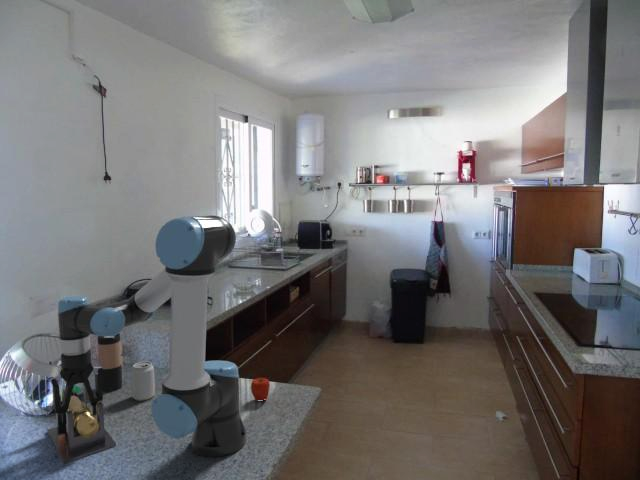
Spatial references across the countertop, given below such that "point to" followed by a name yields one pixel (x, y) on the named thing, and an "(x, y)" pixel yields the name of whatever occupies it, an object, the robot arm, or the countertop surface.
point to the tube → (83, 418)
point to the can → (142, 381)
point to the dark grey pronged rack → (79, 436)
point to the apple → (260, 388)
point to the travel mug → (110, 362)
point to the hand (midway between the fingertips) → (80, 429)
